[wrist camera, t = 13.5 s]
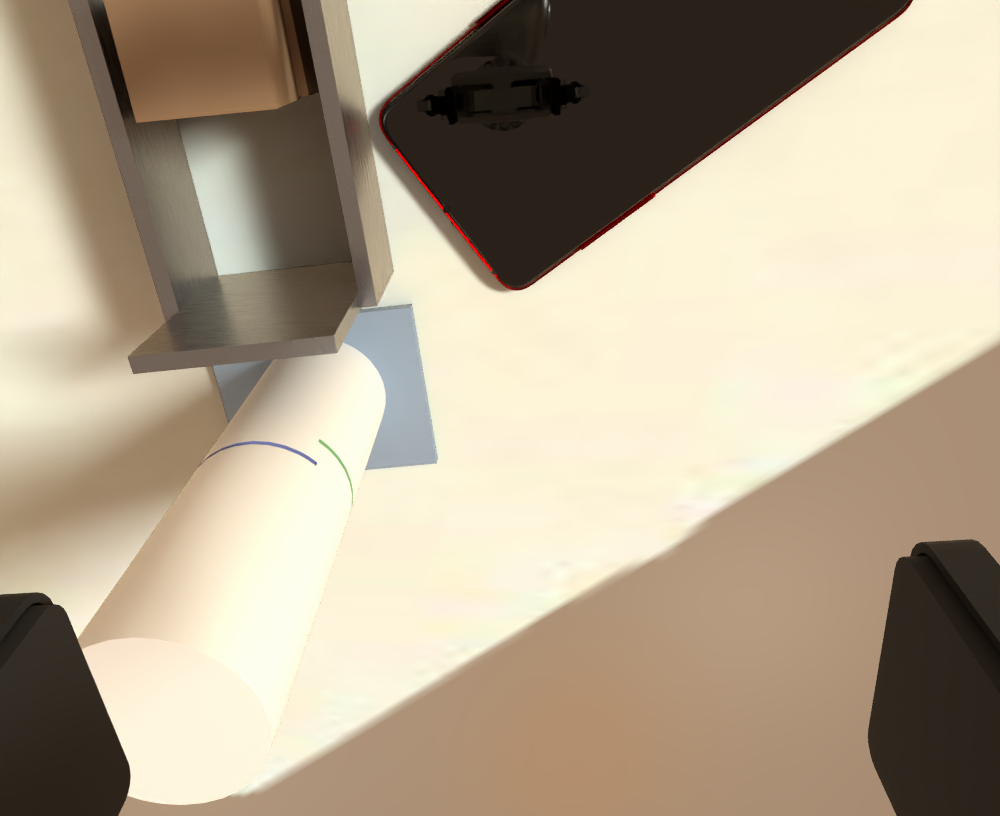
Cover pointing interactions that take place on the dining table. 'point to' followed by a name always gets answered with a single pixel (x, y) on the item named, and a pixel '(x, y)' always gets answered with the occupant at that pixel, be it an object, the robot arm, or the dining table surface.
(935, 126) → the dining table surface
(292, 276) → the rack
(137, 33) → the walnut offcut upper
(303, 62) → the walnut offcut lower
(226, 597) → the cylindrical container
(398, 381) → the mat
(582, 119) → the smartphone
